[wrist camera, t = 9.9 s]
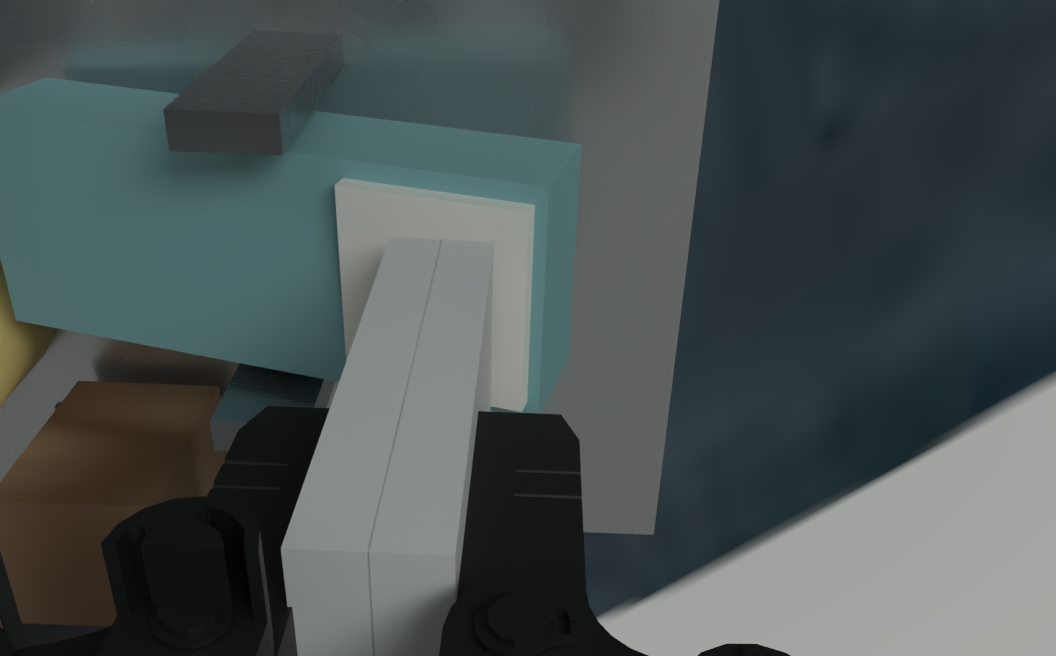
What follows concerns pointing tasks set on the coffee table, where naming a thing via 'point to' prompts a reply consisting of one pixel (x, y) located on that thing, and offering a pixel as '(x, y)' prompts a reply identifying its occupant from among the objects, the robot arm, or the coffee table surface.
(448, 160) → the block
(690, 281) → the coffee table surface
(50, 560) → the brown rectangular block
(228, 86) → the panel
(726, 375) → the coffee table surface
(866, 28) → the coffee table surface
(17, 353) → the ochre button
